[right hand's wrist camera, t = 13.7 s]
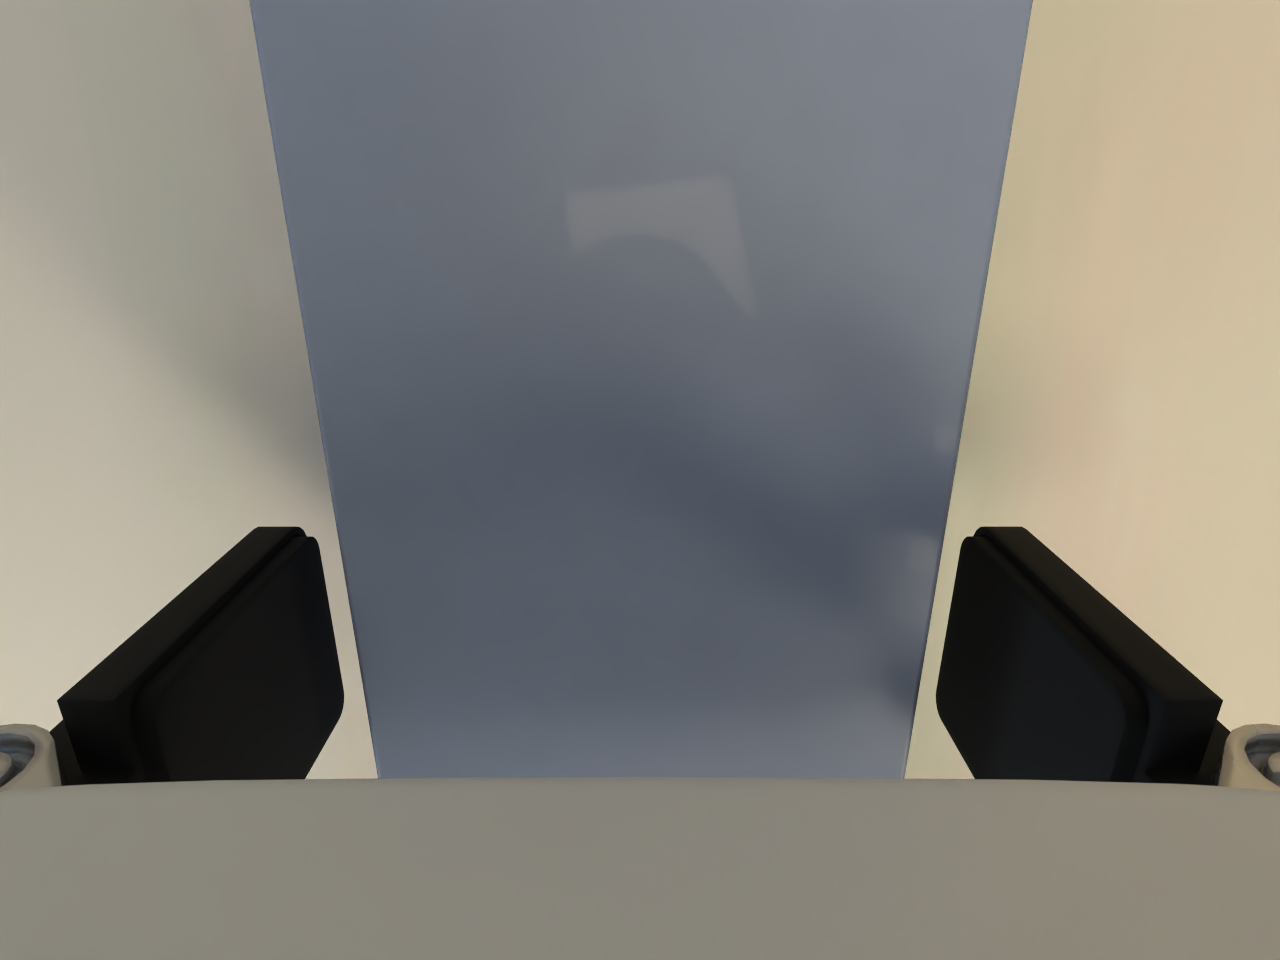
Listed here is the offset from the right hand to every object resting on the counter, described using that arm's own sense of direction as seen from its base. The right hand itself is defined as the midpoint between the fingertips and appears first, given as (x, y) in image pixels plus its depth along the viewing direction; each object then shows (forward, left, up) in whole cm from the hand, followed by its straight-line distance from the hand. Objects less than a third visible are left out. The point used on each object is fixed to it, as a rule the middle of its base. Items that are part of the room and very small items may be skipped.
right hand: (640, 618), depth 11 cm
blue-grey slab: (+1, -3, -6) cm, 7 cm away
